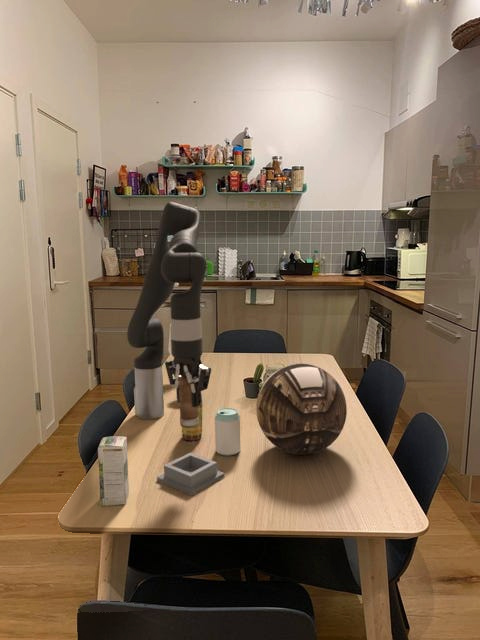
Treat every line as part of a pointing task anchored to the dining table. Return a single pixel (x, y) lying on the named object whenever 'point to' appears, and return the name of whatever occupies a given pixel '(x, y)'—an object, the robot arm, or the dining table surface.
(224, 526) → the dining table surface
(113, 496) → the syrup box
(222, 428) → the can
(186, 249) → the robot arm
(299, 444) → the sphere
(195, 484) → the holder
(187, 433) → the sauce bottle
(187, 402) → the handle
